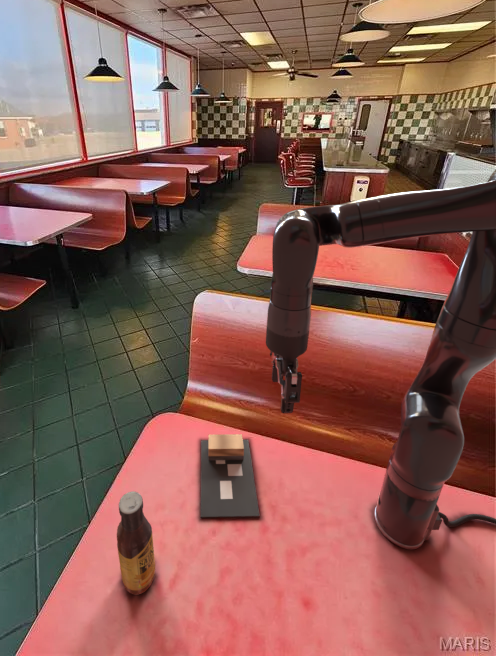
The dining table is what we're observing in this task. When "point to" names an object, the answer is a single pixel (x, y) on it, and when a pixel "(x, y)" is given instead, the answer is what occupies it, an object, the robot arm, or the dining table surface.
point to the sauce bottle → (135, 545)
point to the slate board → (227, 486)
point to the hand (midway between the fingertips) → (281, 395)
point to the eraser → (226, 447)
